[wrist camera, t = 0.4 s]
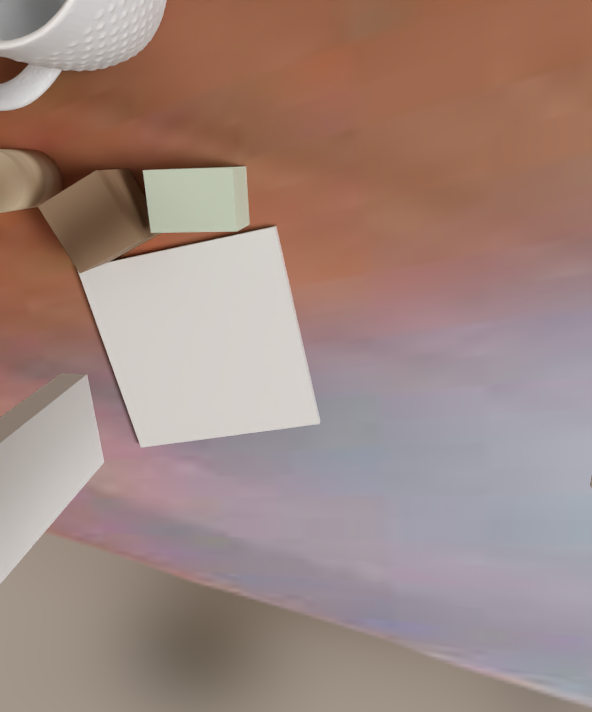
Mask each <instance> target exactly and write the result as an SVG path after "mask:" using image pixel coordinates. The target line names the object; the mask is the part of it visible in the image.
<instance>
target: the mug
mask: <svg viewBox="0 0 592 712" xmlns="http://www.w3.org/2000/svg"><path fill="white" fill-rule="evenodd" d="M165 4H166V0H0V57H6V58H10V59H13V60H15V61H18V62H25V63H29V64H28V65H27V67H26V68H25V69H24V70H23V71H22V72H21V73H20V74H19V75H17V76H16V77H15V78H13V79H12V80H10V81H8V82H5V83H2V84H0V111H7V110H14V109H18V108H21V107H24V106H26V105H28V104H30V103H32V102H33V101H35V100H36V99H38V98H39V97H40V96H41V95H42V94H43V93H44V92H45V91H46V90H47V89H48V88H49V87H50V86H51V84H52V83H53V82H54V81H55V80H56V78H57V77H58V76H59V74H60V73H61V71H62V70H64V71H67V70H75V71H83V70H88V71H93V70H96V69H105V68H107V67H108V66H114V65H117V64H118V63H120V62H125V61H127V60H128V59H129V58H130V57H133V56H135V55H137V53H138V52H139V51H141V50H143V49H144V47H145V46H146V45H147V43H148V42H150V41H151V39H152V37H153V36H154V34H155V32H156V31H157V30H158V27H159V24H160V22H161V19H162V17H163V14H164V9H165Z"/></svg>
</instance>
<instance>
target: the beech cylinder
mask: <svg viewBox="0 0 592 712" xmlns="http://www.w3.org/2000/svg"><path fill="white" fill-rule="evenodd" d="M61 191H62V176H61V172H60V170H59V168H58V166H57V164H56V163H55V162H54V160H53V159H52V158H51V157H49V156H48V155H47V154H45V153H43V152H41V151H38V150H17V149H0V213H2V212H8V211H15V210H22V209H28V208H35V207H38V206H39V205H41V204H42V203H44V202H46V201H47V200H49V199H50V198H52V197H54V196H55V195H57V194H58V193H60V192H61Z"/></svg>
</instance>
